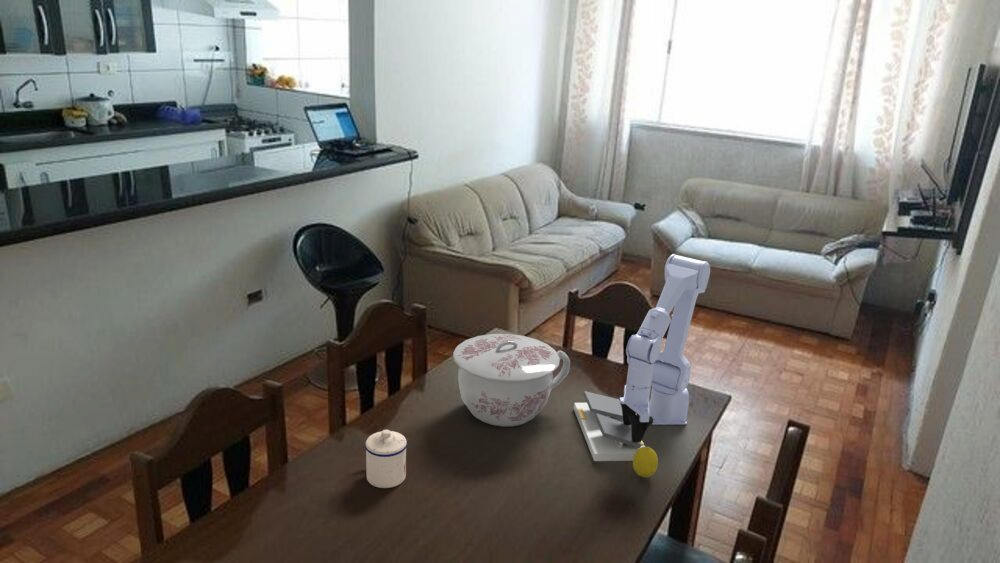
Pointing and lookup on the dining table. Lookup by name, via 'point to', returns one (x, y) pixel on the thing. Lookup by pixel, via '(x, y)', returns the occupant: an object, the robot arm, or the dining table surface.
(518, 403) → the chamber pot
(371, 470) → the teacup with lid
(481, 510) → the dining table surface
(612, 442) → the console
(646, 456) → the lemon
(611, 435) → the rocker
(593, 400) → the rocker
